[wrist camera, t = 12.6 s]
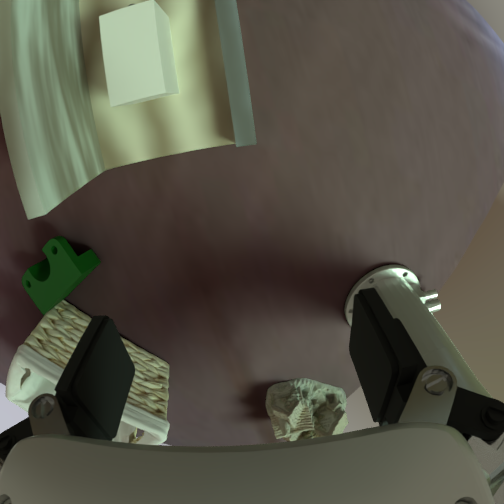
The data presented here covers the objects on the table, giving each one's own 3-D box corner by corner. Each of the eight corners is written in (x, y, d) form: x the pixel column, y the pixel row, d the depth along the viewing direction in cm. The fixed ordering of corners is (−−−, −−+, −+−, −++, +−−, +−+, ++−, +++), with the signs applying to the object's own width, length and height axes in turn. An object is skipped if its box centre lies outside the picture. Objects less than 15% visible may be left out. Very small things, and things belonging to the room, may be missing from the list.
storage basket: (181, 364, 48) (172, 440, 35) (138, 400, 53) (126, 464, 40) (56, 284, 39) (11, 352, 27) (33, 337, 45) (1, 397, 32)
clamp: (84, 226, 40) (63, 224, 31) (108, 259, 41) (91, 265, 32) (32, 276, 38) (4, 285, 29) (54, 307, 39) (30, 323, 31)
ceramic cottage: (344, 410, 59) (358, 467, 45) (269, 422, 59) (273, 481, 46) (349, 364, 52) (371, 429, 39) (260, 377, 53) (263, 447, 39)
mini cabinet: (168, 9, 23) (152, -10, 17) (179, 93, 28) (165, 92, 22) (123, 21, 23) (98, 7, 17) (134, 104, 28) (110, 107, 22)
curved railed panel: (227, -39, 22) (227, -107, 9) (254, 139, 32) (270, 169, 19) (68, 6, 22) (-5, -19, 9) (94, 171, 32) (28, 219, 20)
